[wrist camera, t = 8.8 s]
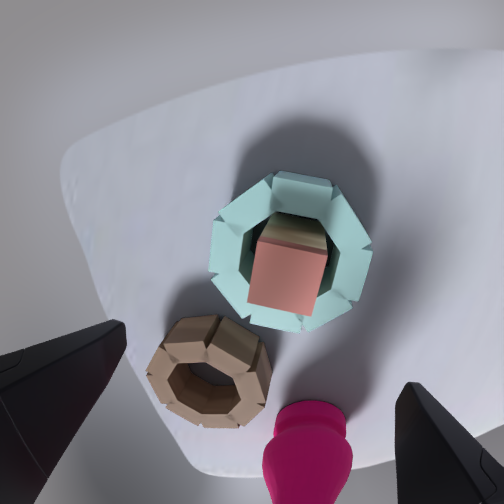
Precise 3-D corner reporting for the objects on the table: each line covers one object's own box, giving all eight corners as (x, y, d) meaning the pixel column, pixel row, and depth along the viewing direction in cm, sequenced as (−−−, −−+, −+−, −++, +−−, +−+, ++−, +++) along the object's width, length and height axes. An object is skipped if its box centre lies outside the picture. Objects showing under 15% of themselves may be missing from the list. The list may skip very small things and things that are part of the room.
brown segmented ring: (254, 309, 23) (244, 337, 19) (279, 396, 25) (273, 427, 22) (151, 321, 25) (131, 345, 22) (187, 399, 27) (174, 426, 24)
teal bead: (373, 189, 19) (386, 200, 15) (341, 312, 22) (345, 341, 18) (235, 163, 20) (219, 168, 16) (219, 288, 23) (204, 313, 19)
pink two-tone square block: (323, 222, 20) (327, 256, 14) (312, 269, 21) (311, 316, 15) (273, 211, 20) (257, 241, 15) (264, 258, 21) (246, 302, 16)
